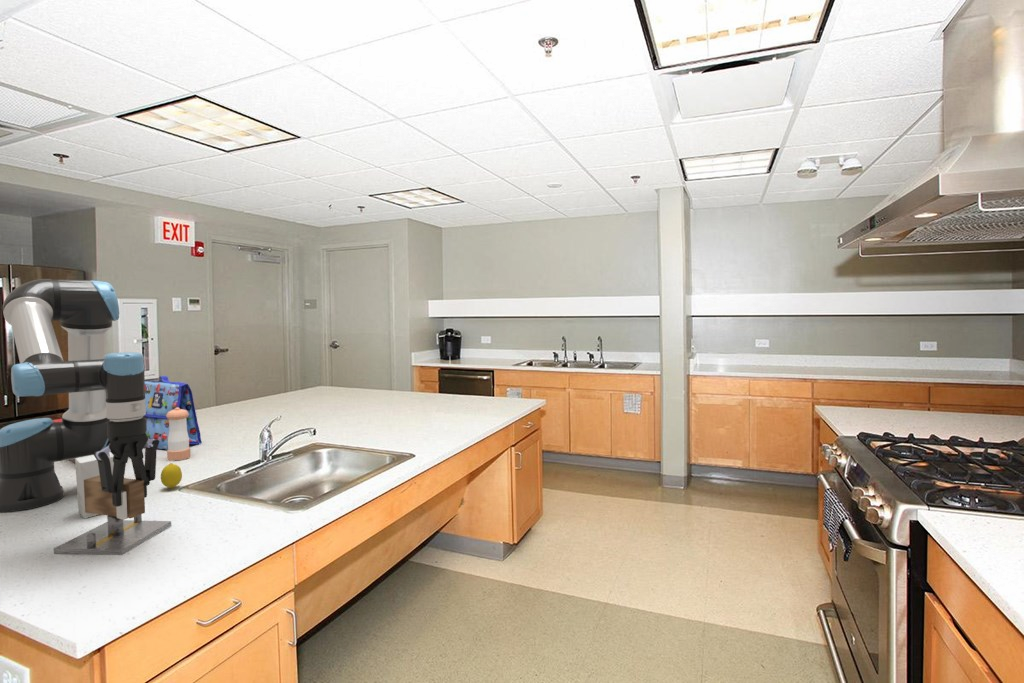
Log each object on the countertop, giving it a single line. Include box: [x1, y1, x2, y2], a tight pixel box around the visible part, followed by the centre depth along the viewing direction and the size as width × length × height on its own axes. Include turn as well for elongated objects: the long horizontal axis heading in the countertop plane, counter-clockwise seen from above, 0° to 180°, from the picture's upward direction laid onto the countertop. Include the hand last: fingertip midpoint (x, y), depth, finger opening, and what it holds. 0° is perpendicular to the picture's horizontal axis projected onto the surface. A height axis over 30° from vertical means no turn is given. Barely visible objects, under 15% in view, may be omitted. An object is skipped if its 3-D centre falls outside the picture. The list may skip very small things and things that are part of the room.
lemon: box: [160, 462, 183, 489], centre depth 160 cm, size 6×6×8 cm
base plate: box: [53, 514, 172, 556], centre depth 125 cm, size 16×16×6 cm
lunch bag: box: [143, 375, 202, 451], centre depth 210 cm, size 22×14×29 cm, turn 73°
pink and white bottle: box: [166, 408, 191, 461], centre depth 192 cm, size 7×7×19 cm
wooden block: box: [84, 475, 146, 519], centre depth 124 cm, size 14×4×8 cm, turn 76°
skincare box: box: [74, 452, 114, 519], centre depth 141 cm, size 8×7×16 cm
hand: (130, 515), depth 123 cm, fingers closed on wooden block, 3 cm apart
